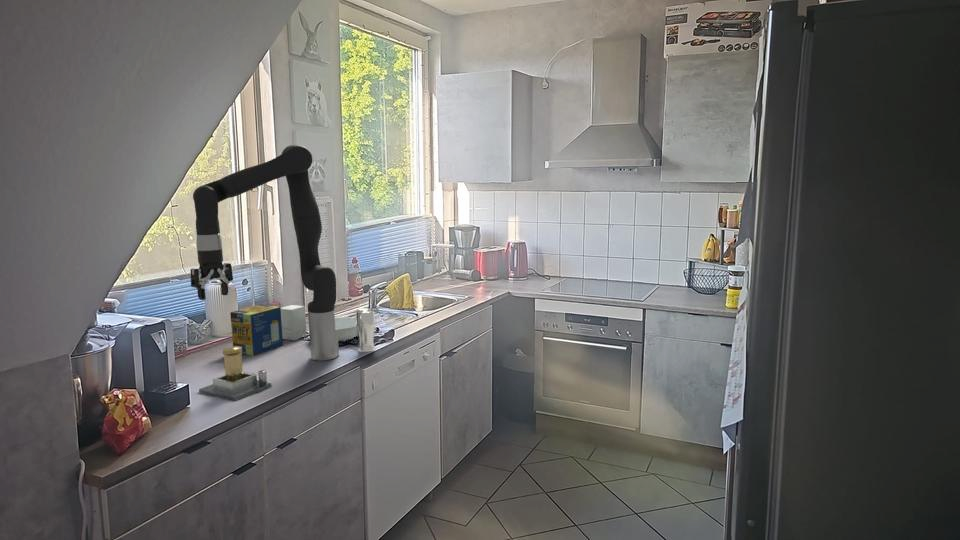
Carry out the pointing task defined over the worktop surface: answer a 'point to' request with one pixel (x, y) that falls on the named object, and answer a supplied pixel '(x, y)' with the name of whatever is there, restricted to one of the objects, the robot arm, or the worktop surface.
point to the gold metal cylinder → (233, 363)
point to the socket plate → (237, 386)
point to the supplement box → (293, 322)
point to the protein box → (257, 329)
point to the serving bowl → (346, 328)
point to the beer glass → (365, 329)
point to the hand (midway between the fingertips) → (213, 297)
